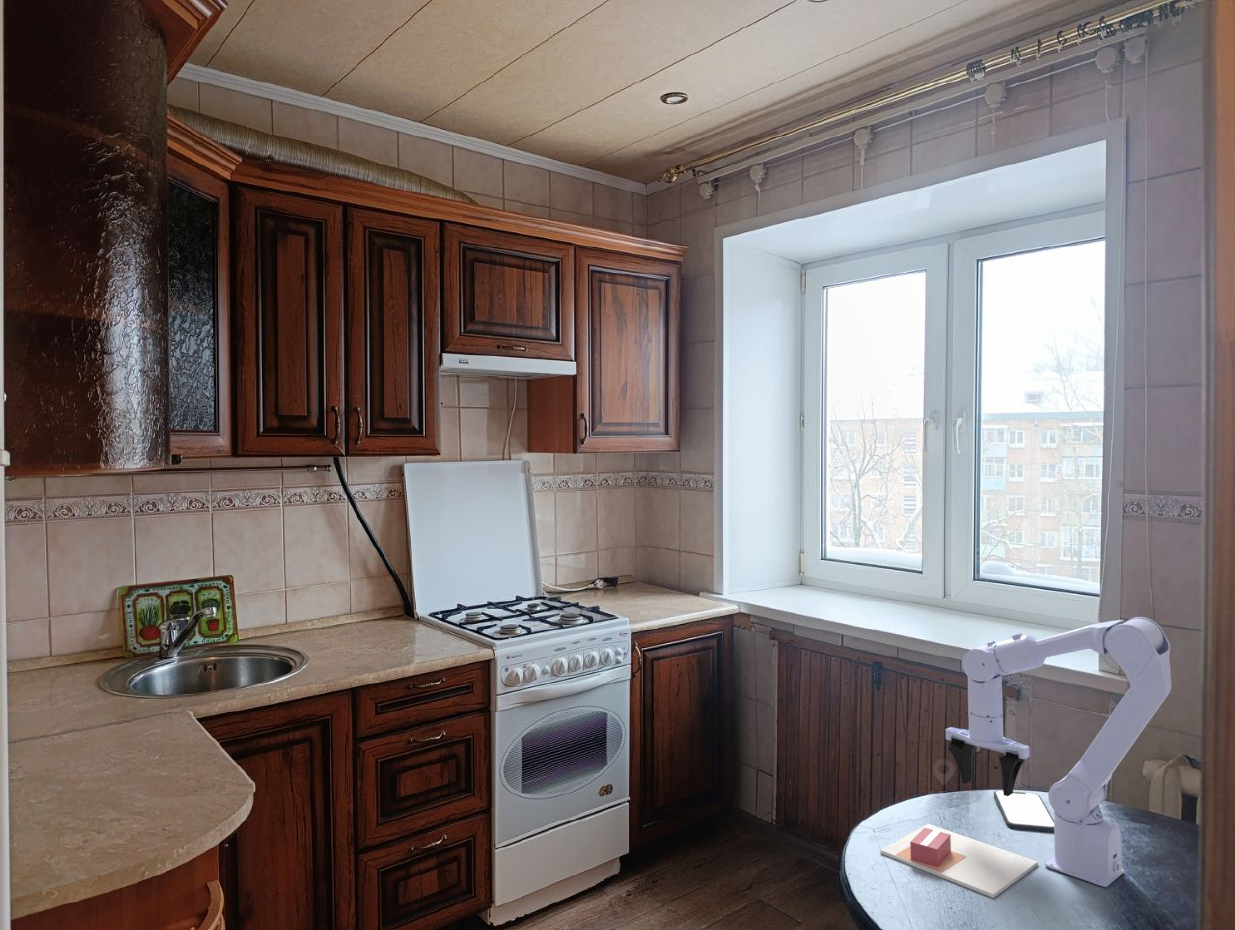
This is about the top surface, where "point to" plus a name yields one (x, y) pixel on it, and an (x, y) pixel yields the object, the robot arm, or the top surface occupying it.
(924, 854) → the card box
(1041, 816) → the smartphone
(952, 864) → the mat
